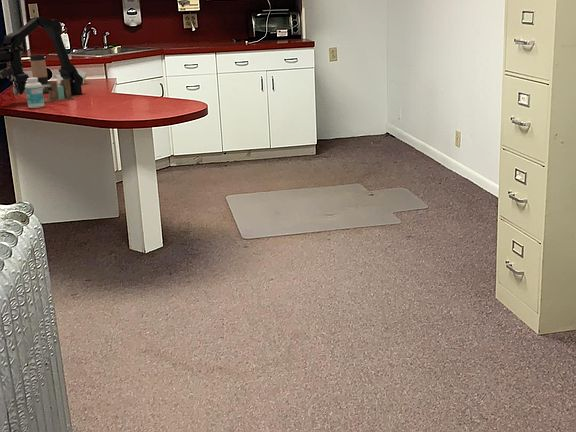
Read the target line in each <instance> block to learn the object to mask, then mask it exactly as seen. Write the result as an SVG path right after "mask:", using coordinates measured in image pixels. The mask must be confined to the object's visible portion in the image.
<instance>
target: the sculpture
mask: <svg viewBox="0 0 576 432" xmlns="http://www.w3.org/2000/svg"><path fill="white" fill-rule="evenodd" d="M75 68H76V67H75ZM76 70H77V71H78V74H79V75H80V76H81V77H82V78H83V82H82V83H81V84H82V85H84V84H85V81H86V78H87V73H86V71H83V70H80V69H79V68H76ZM53 76H54V77H55V78H56V80H57V81H56V82H57V86H58V85H60V84H61V81H60V80H64V79H63V78H62V77H61V75H60V73H59V74H55V73H53ZM73 81H74V80H73Z"/></svg>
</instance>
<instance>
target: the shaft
mask: <svg viewBox="0 0 576 432" xmlns="http://www.w3.org/2000/svg"><path fill="white" fill-rule="evenodd" d="M12 89H13V90H12V91H13V94H14V96H18V95H20V94H19V90H18V87H16V86H15V85H13V87H12ZM42 90H43V91H47V90H52V89H51V84H45V85H42ZM23 94H26V89H25V87H24V90H23Z"/></svg>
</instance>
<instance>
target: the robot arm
mask: <svg viewBox="0 0 576 432" xmlns="http://www.w3.org/2000/svg"><path fill="white" fill-rule="evenodd" d="M38 28H42V29H44V32H45V33H46V34H47V35H48V37H50V39H51V41H52V43H53V47H54V49H55V52H56V55H57V57H58V60H59V63H60V68H59V69H58V72H59V74H60V75H61V77H62V78H63V79H64V80H66V81H68V80H69V81H70V88H71V96H78V95H79V96H81V95H84V93H83V91H82V84H83V83H82V82H83V78H82V77H81V76H80V75H79V74H78V71H77V70H76V66H75V65H74V64H73V63H72V62H71V59H70V57H69V54H68V52H67V49H66V45H65V43H64V40H63V37H62V30H63V29H62V25H61V22H60V21H59V20H58V19H56V18H54V19H50V18H47V17H46V18H45V17H42V16H33V17H32V19H30V20H28V22H26V23H25V24H24V25H23V26H22V27H20V28H19V29H18V30H16V31H12V32H10V33H8V34H7V35H5V36H4V37H3V42H2V44H1V45H0V64H5V63H8V65H7V66H8V67H6V68H3V69H1V70H0V79H6V78H7V79H9V82H10V81H11V82H12V83H13V86H16V87H18V90H19V94H18V95H23V94H24V93H23V90H24V87H25V85H26V84H27V82H28V81H27V78H30V76H29V75H28V73H25V72H24V69H23V66H24V63H23V61H22V55H21V54H22V52H24V51H25V49H24V48H22V47H21V46H22V44H23V43H24V41H25V39H26V37H28V36H29V35H31V33H33V32H34V31H36V30H37V29H38ZM73 80H74V81H73Z"/></svg>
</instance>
